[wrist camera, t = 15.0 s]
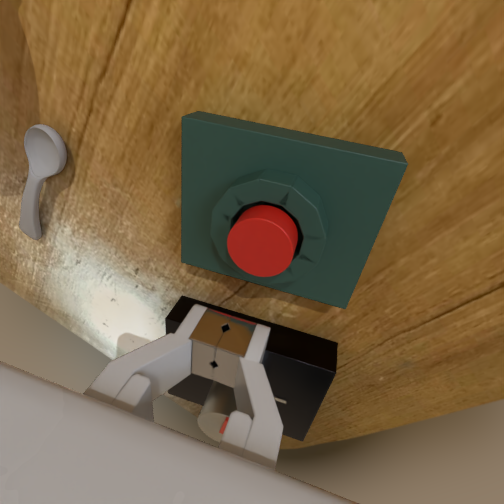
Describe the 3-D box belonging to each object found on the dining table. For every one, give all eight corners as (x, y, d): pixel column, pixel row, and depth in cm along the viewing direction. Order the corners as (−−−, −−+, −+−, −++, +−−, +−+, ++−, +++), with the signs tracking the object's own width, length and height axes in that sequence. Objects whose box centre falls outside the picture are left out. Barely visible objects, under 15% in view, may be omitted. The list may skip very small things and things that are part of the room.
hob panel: (337, 342, 25) (336, 375, 23) (306, 412, 31) (302, 443, 29) (181, 295, 27) (164, 319, 25) (181, 368, 33) (167, 394, 31)
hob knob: (254, 407, 28) (240, 457, 24) (211, 387, 28) (191, 434, 25) (270, 382, 25) (257, 434, 22) (221, 361, 26) (201, 409, 22)
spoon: (79, 139, 21) (56, 147, 20) (54, 238, 29) (36, 249, 27) (42, 110, 21) (16, 116, 20) (27, 218, 29) (7, 228, 27)
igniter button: (304, 213, 16) (300, 228, 15) (290, 267, 18) (285, 285, 17) (240, 197, 17) (229, 210, 15) (233, 251, 19) (223, 267, 17)
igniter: (402, 152, 17) (414, 175, 13) (346, 289, 22) (345, 329, 19) (197, 110, 18) (164, 121, 15) (193, 247, 24) (168, 276, 21)
